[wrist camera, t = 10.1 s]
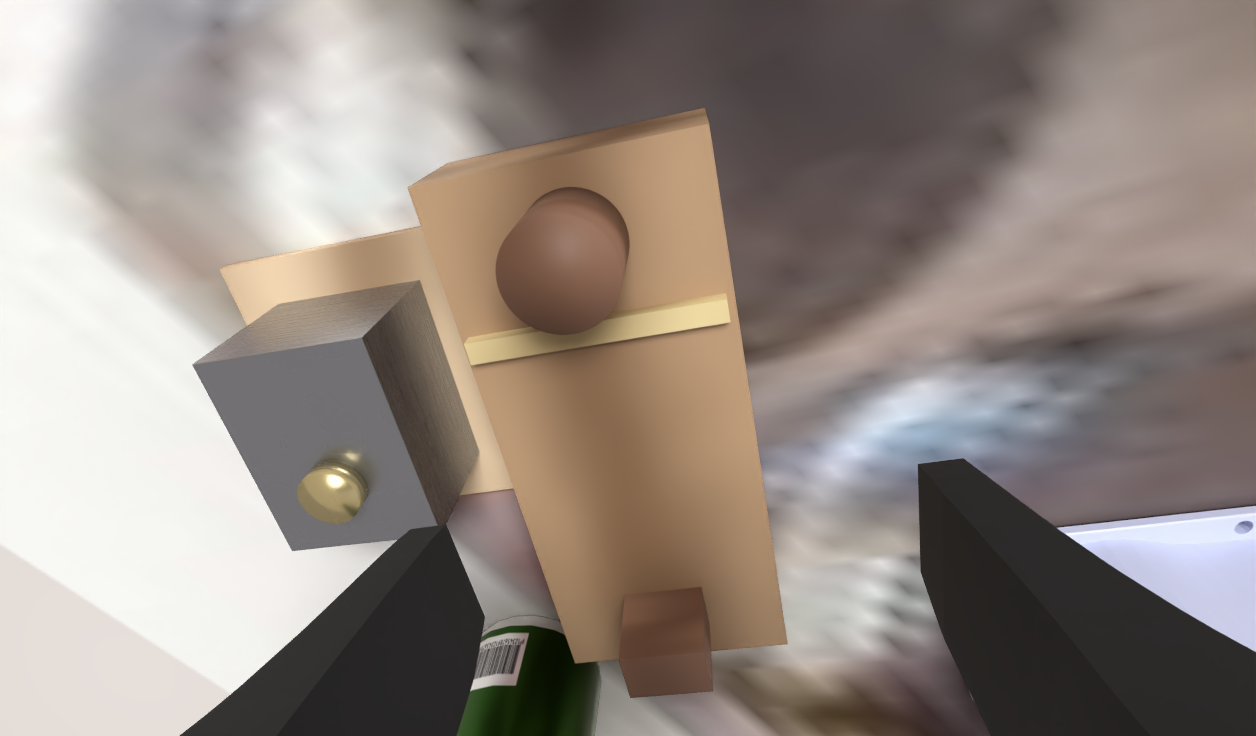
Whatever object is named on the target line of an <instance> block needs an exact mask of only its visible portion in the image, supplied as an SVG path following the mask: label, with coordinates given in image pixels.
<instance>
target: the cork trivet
mask: <svg viewBox="0 0 1256 736" xmlns="http://www.w3.org/2000/svg"><path fill="white" fill-rule="evenodd" d="M220 272H221V274H222V276H223V278H224V280H225V282H226V284H227V286H228V288H229V290H230V292H231V294H232V296H233V298H234V300H235V302H236V304H237V306H238V308H239V310H240V312H241V314H242V316H243V318H244V320H245V322H246V324H247V326H248V325H249V324H251V323H252V322H253V321H255V320H256V319H258V318H259V317H261V316H262V315H263V314H265V313H266V312H268V311H269V310H270V309H272V308H273V307H275V306H276V305H278V304H281V303H287V302H293V301H298V300H304V299H310V298H316V297H322V296H328V295H334V294H340V293H346V292H351V291H357V290H363V289H369V288H375V287H381V286H387V285H393V284H398V283H404V282H410V281H416V280H420V282H421V285H422V288H423V291H424V293H425V296H426V299H427V302H428V305H429V308H430V311H431V314H432V316H433V319H434V322H435V325H436V328H437V331H438V334H439V337H440V340H441V342H442V345H443V348H444V351H445V354H446V357H447V360H448V363H449V365H450V368H451V371H452V374H453V377H454V380H455V383H456V386H457V388H458V391H459V394H460V397H461V400H462V403H463V406H464V409H465V411H466V414H467V417H468V420H469V423H470V426H471V429H472V432H473V434H474V437H475V440H476V443H477V446H478V449H479V454H478V456H477V459H476V461H475V463H474V465H473V467H472V469H471V471H470V474H469V476H468V478H467V480H466V482H465V484H464V487H463V489H462V491H461V493H460V495H467V494H474V493H482V492H489V491H497V490H504V489H511V488H513V485H512V483H511V480H510V477H509V474H508V471H507V468H506V466H505V463H504V460H503V457H502V454H501V451H500V449H499V446H498V443H497V440H496V437H495V434H494V432H493V429H492V426H491V423H490V420H489V417H488V415H487V412H486V409H485V406H484V403H483V400H482V397H481V395H480V392H479V389H478V386H477V383H476V380H475V378H474V375H473V372H472V369H471V366H470V363H469V361H468V358H467V355H466V352H465V349H464V346H463V344H462V341H461V338H460V335H459V332H458V329H457V327H456V324H455V321H454V318H453V315H452V312H451V310H450V307H449V304H448V301H447V298H446V295H445V293H444V290H443V287H442V284H441V281H440V278H439V276H438V273H437V270H436V267H435V264H434V261H433V258H432V256H431V253H430V250H429V247H428V244H427V241H426V239H425V236H424V233H423V230H422V227H421V226H419V227H414V228H409V229H404V230H400V231H395V232H390V233H385V234H380V235H375V236H370V237H365V238H360V239H355V240H350V241H345V242H340V243H335V244H330V245H325V246H320V247H315V248H310V249H305V250H300V251H296V252H291V253H286V254H281V255H276V256H271V257H266V258H261V259H256V260H251V261H246V262H241V263H236V264H231V265H227V266H225V267H223V268H222V269H220Z"/></svg>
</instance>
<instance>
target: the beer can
mask: <svg viewBox="0 0 1256 736" xmlns="http://www.w3.org/2000/svg"><path fill="white" fill-rule="evenodd" d="M600 688H601V676H600V670H599V665H598V663H597V661H596V662H585V663H575V661H574V659H573V656H572V653H571V650H570V647H569V644H568V641H567V639H566V636H565V633H564V630H563V627H562V624H561V622H559V621H557V620H555V619H550V618H545V617H540V616H515V617H511V618H508V619H504V620H500V621H499V622H497V623H496V624H494V625H493V626H491V627H489V628H488V629H487V630H486V631H485V632H484V633H483V634H482V638H481V644H480V650H479V655H478V660H477V665H476V670H475V675H474V680H473V684H472V687H471V690H470V694H469V697H468V700H467V704H466V707H465V710H464V713H463V717H462V720H461V723H460V726H459V729H458V733H457V736H595V730H596V722H597V713H598V705H599V697H600Z"/></svg>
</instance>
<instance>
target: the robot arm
mask: <svg viewBox="0 0 1256 736" xmlns="http://www.w3.org/2000/svg"><path fill="white" fill-rule="evenodd" d="M918 485H919V523H920V561H921V574H922V577H923V580H924V583H925V586H926V589H927V592H928V595H929V597H930V600H931V603H932V606H933V609H934V612H935V615H936V618H937V620H938V623H939V626H940V629H941V631H942V634H943V637H944V639H945V642H946V644H947V646H948V648H949V650H950V652H951V654H952V656H953V658H954V661H955V663H956V665H957V667H958V669H959V671H960V673H961V675H962V677H963V679H964V681H965V683H966V685H967V688H968V690H969V693H970V695H971V698H972V699H973V700H974V702H975V704H976V706H977V708H978V710H979V712H980V714H981V716H982V718H983V720H984V722H985V724H986V727H987V729H988V731H989V733H990V735H991V736H1256V506H1250V507H1241V508H1232V509H1223V510H1214V511H1205V512H1196V513H1186V514H1177V515H1168V516H1159V517H1150V518H1141V519H1132V520H1123V521H1114V522H1105V523H1096V524H1087V525H1078V526H1069V527H1060V528H1056V527H1055V526H1053V525H1052V524H1051V523H1049V522H1048V521H1047V520H1045V519H1044V518H1042V517H1041V516H1040V515H1038V514H1037V513H1036V512H1034V511H1033V510H1032V509H1030V508H1029V507H1027V506H1026V505H1025V504H1023V503H1022V502H1021V501H1019V500H1018V499H1017V498H1015V497H1014V496H1013V495H1011V494H1010V493H1009V492H1007V491H1006V490H1005V489H1003V488H1002V487H1001V486H999V485H998V484H997V483H995V482H994V481H993V480H991V479H990V478H989V477H987V476H986V475H985V474H983V473H982V472H981V471H979V470H978V469H977V468H975V467H974V466H973V465H971V464H970V463H969V462H967V461H966V460H965V459H963V458H962V459H955V460H947V461H939V462H931V463H923V464H918ZM1240 522H1241V523H1240ZM484 619H485V616H484V614H483V612H482V609H481V607H480V604H479V602H478V600H477V597H476V595H475V592H474V590H473V588H472V585H471V583H470V581H469V578H468V576H467V573H466V571H465V569H464V566H463V564H462V561H461V559H460V557H459V554H458V552H457V550H456V547H455V545H454V542H453V540H452V538H451V535H450V533H449V530H448V528H447V526H446V525H438V526H430V527H422V528H415V529H410V530H409V531H408V532H407V533H405V534H404V535H403V536H402V537H401V538H399V539H398V540H397V541H396V542H395V543H394V544H393V545H392V546H391V547H390V548H388V549H387V550H386V551H385V552H384V553H383V554H382V555H381V556H380V557H379V558H378V559H377V560H376V561H375V562H374V563H373V564H372V565H371V566H370V567H368V568H367V569H366V570H365V571H364V572H363V573H362V574H361V575H360V576H359V577H358V578H357V579H356V580H355V581H354V582H353V583H352V584H351V585H350V586H349V587H348V588H347V589H346V590H345V591H344V592H343V593H342V594H340V595H339V596H338V597H337V598H336V599H335V600H334V601H333V602H332V603H331V604H330V605H329V606H328V607H327V608H326V609H325V610H324V611H323V612H322V613H321V614H320V615H319V616H317V617H316V618H315V619H314V620H313V621H312V622H311V623H310V624H309V625H308V626H307V627H306V628H305V629H304V630H303V631H302V632H301V633H299V634H298V635H297V636H296V637H295V638H294V639H293V640H292V641H291V642H289V643H288V644H287V645H286V646H285V647H284V648H283V649H282V650H280V651H279V652H278V653H277V654H276V655H275V656H274V657H273V658H272V659H270V660H269V661H268V662H267V663H266V664H265V665H264V666H263V667H262V668H260V669H259V670H258V671H257V672H256V673H255V674H254V675H253V676H251V677H250V678H249V679H248V680H247V681H246V682H245V683H244V684H243V685H241V686H240V687H239V688H238V689H237V690H236V691H234V692H233V693H232V694H231V695H230V696H228V697H227V698H226V699H225V700H224V701H222V702H221V703H220V704H219V705H218V706H216V707H215V708H214V709H213V710H211V711H210V712H209V713H208V714H207V715H205V716H204V717H203V718H202V719H200V720H199V721H198V722H197V723H195V724H194V725H193V726H191V727H190V728H189V729H188V730H186V731H185V732H184V733H183V734H181V735H180V736H457V733H458V729H459V726H460V723H461V720H462V717H463V713H464V710H465V707H466V704H467V700H468V697H469V694H470V690H471V687H472V684H473V680H474V675H475V670H476V665H477V660H478V655H479V650H480V644H481V638H482V631H483V625H484Z"/></svg>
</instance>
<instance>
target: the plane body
mask: <svg viewBox="0 0 1256 736" xmlns="http://www.w3.org/2000/svg"><path fill="white" fill-rule="evenodd" d="M408 190H409V193H410V196H411V199H412V202H413V205H414V207H415V210H416V213H417V216H418V219H419V222H420V224H421V227H422V230H423V233H424V236H425V239H426V241H427V244H428V247H429V250H430V253H431V256H432V258H433V261H434V264H435V267H436V270H437V273H438V276H439V278H440V281H441V284H442V287H443V290H444V293H445V295H446V298H447V301H448V304H449V307H450V310H451V312H452V315H453V318H454V321H455V324H456V327H457V329H458V332H459V335H460V338H461V341H462V344H463V346H464V349H465V352H466V355H467V358H468V361H469V363H470V366H471V369H472V372H473V375H474V378H475V380H476V383H477V386H478V389H479V392H480V395H481V397H482V400H483V403H484V406H485V409H486V412H487V415H488V417H489V420H490V423H491V426H492V429H493V432H494V434H495V437H496V440H497V443H498V446H499V449H500V451H501V454H502V457H503V460H504V463H505V466H506V468H507V471H508V474H509V477H510V480H511V483H512V485H513V488H514V491H515V494H516V497H517V500H518V502H519V505H520V508H521V511H522V514H523V517H524V519H525V522H526V525H527V528H528V531H529V534H530V537H531V539H532V542H533V545H534V548H535V551H536V554H537V556H538V559H539V562H540V565H541V568H542V571H543V573H544V576H545V579H546V582H547V585H548V588H549V590H550V593H551V596H552V599H553V602H554V605H555V607H556V610H557V613H558V616H559V619H560V622H561V624H562V627H563V630H564V633H565V636H566V639H567V641H568V644H569V647H570V650H571V653H572V656H573V659H574V661H575V663H585V662H596V661H607V660H618V659H619V663H620V666H621V669H622V672H623V676H624V679H625V682H626V685H627V689H628V692H629V695H630V698H636V697H648V696H661V695H673V694H685V693H697V692H710V691H713V681H712V661H711V651H717V650H728V649H739V648H750V647H761V646H772V645H783V644H787V637H786V631H785V624H784V617H783V611H782V604H781V598H780V591H779V584H778V578H777V571H776V564H775V558H774V551H773V545H772V538H771V531H770V525H769V518H768V511H767V505H766V498H765V491H764V485H763V478H762V472H761V465H760V458H759V452H758V445H757V438H756V432H755V425H754V419H753V412H752V405H751V399H750V392H749V385H748V379H747V372H746V365H745V359H744V352H743V346H742V339H741V332H740V326H739V319H738V312H737V306H736V299H735V293H734V286H733V279H732V273H731V266H730V259H729V253H728V246H727V240H726V233H725V226H724V220H723V213H722V206H721V200H720V193H719V186H718V180H717V173H716V167H715V160H714V153H713V147H712V140H711V133H710V127H709V122H708V118H707V115H706V111H705V108H701V109H696V110H692V111H687V112H683V113H678V114H673V115H669V116H664V117H659V118H655V119H650V120H646V121H641V122H636V123H632V124H627V125H622V126H618V127H613V128H609V129H604V130H599V131H595V132H590V133H585V134H581V135H576V136H571V137H567V138H562V139H558V140H553V141H548V142H544V143H539V144H534V145H530V146H525V147H521V148H516V149H511V150H507V151H502V152H497V153H493V154H488V155H484V156H479V157H474V158H470V159H465V160H460V161H456V162H451V163H447V164H445V165H444V166H442V167H440V168H439V169H437V170H436V171H434V172H432V173H431V174H429V175H427V176H426V177H424V178H422V179H421V180H419V181H418V182H416V183H414V184H413V185H411V186H409V187H408Z"/></svg>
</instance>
